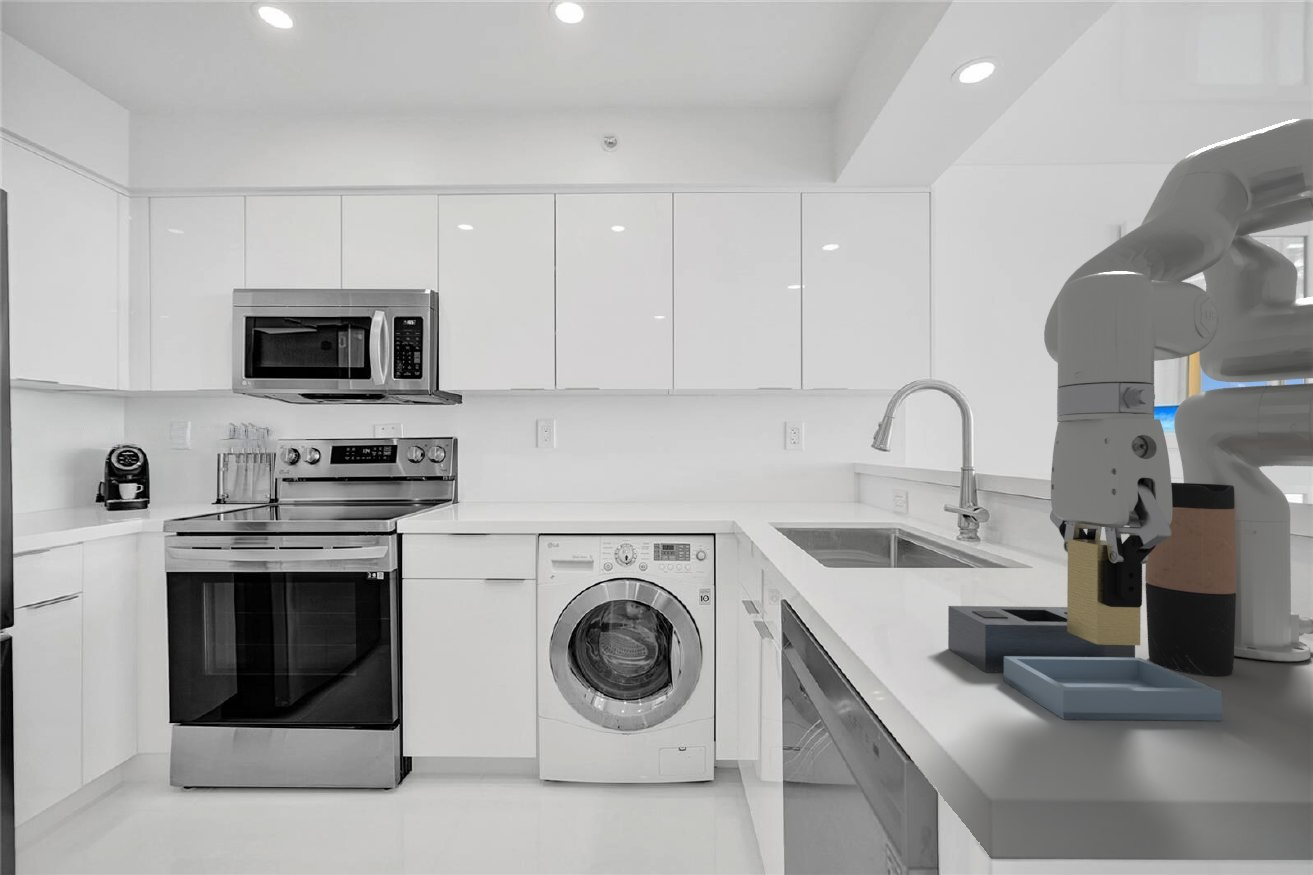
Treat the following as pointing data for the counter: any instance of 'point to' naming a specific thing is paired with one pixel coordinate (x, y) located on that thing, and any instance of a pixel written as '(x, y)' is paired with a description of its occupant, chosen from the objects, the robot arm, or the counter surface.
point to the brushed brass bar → (1096, 599)
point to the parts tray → (1111, 689)
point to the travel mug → (1194, 583)
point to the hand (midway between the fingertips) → (1103, 598)
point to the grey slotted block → (1018, 635)
